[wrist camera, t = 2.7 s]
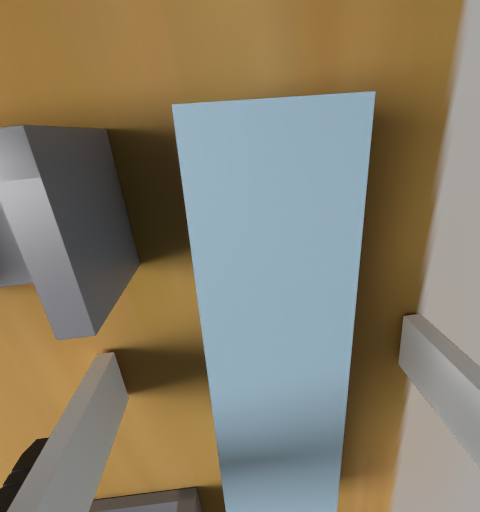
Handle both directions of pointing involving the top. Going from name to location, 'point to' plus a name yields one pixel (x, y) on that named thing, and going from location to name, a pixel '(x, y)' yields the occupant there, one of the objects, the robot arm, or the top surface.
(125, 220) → the end caps
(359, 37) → the top surface
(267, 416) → the slat
